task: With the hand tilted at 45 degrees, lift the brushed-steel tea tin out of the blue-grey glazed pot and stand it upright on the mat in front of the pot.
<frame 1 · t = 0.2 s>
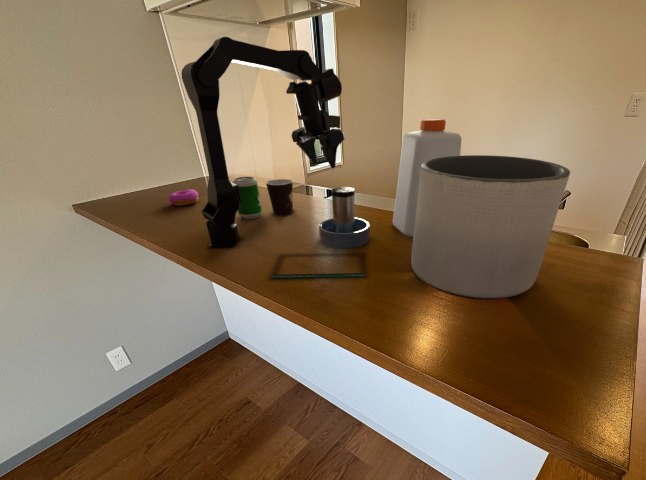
hand: (324, 165, 97), 15 cm above the table, tool pointing down, fingers open, 9 cm apart
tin: (344, 238, 86), point 1 cm above the table, touching pot
donut: (186, 204, 121), on the table
soda can: (251, 216, 106), on the table
mat: (320, 265, 74), on the table
planter: (468, 274, 70), on the table
plastic bottle: (421, 229, 93), on the table
pot: (344, 240, 87), on the table
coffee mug: (286, 211, 110), on the table
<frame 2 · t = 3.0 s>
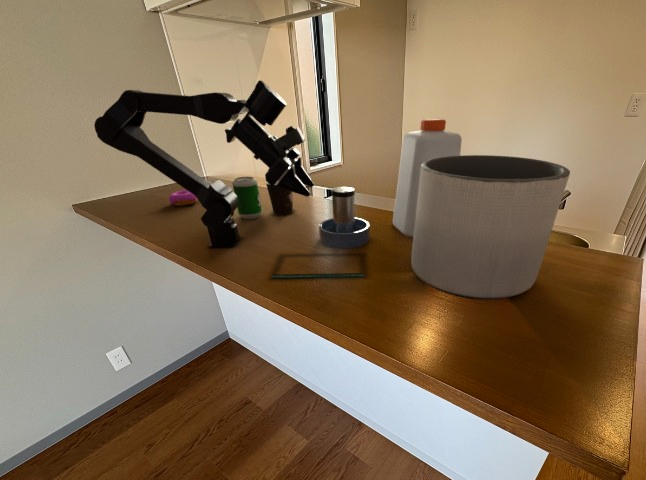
hand: (311, 190, 79), 13 cm above the table, tool tilted 45°, fingers open, 9 cm apart
nothing on the table moved.
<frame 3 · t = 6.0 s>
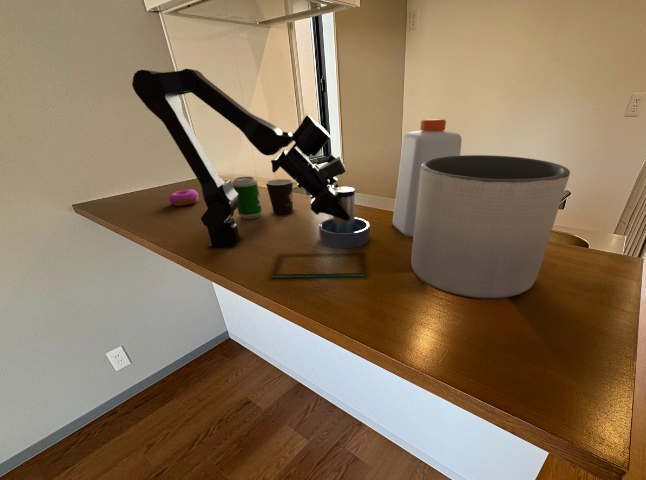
hand: (349, 215, 83), 7 cm above the table, tool tilted 45°, fingers closed on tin, 5 cm apart
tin: (344, 238, 86), point 1 cm above the table, touching gripper, pot
everything else where it was.
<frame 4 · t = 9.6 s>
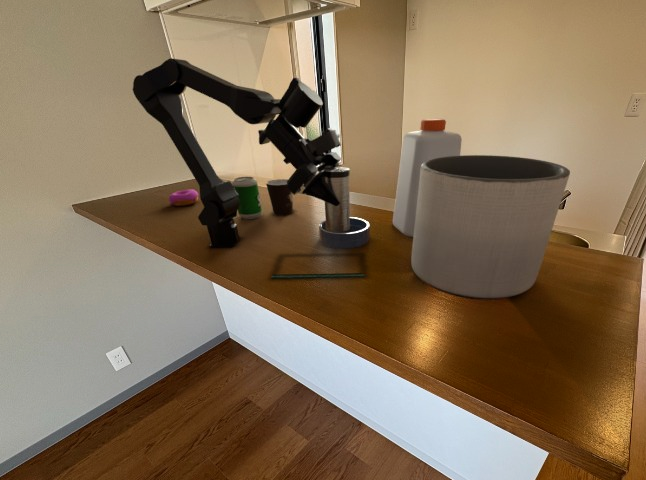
hand: (342, 201, 71), 13 cm above the table, tool tilted 45°, fingers closed on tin, 5 cm apart
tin: (338, 228, 75), point 7 cm above the table, touching gripper
everything else where it was.
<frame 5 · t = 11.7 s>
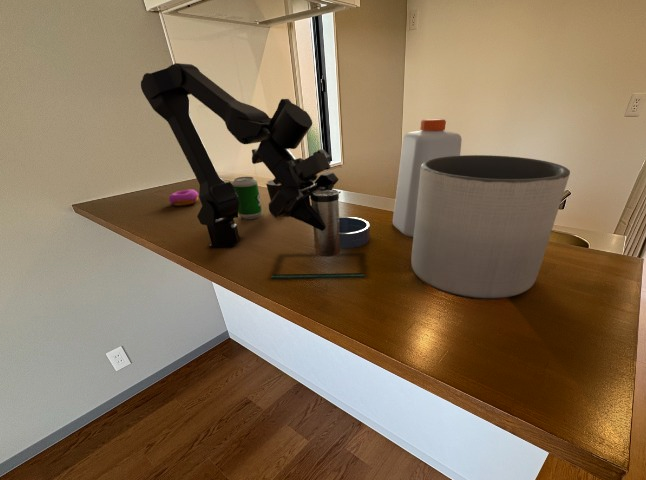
hand: (331, 225, 68), 10 cm above the table, tool tilted 45°, fingers closed on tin, 5 cm apart
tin: (327, 251, 72), point 4 cm above the table, touching gripper
everything else where it was.
when the fingers open (7 cm above the table, at t = 13.2 s): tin stays where it is, resting on mat.
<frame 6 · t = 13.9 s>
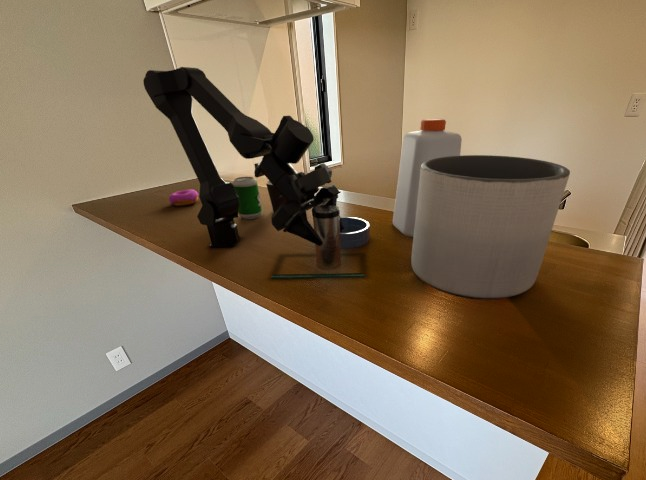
hand: (332, 237, 69), 7 cm above the table, tool tilted 45°, fingers open, 9 cm apart
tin: (328, 265, 73), resting on mat
everything else where it was.
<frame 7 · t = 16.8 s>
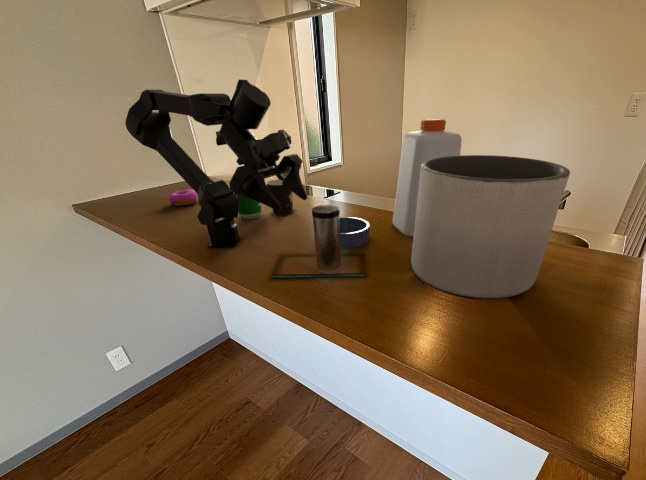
hand: (294, 204, 70), 13 cm above the table, tool tilted 45°, fingers open, 9 cm apart
nothing on the table moved.
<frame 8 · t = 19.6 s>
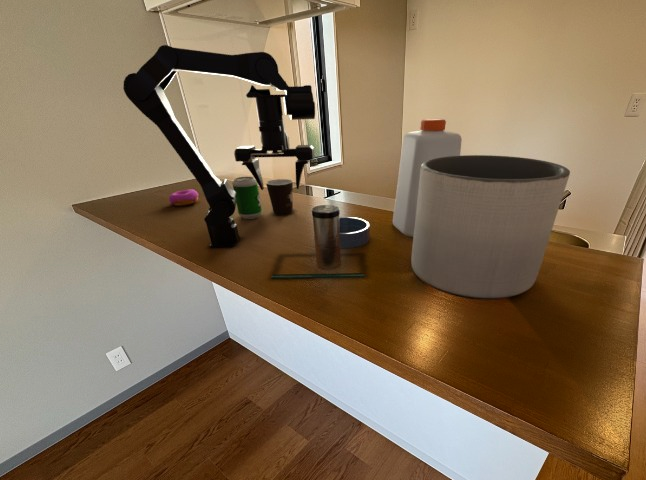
hand: (280, 189, 83), 13 cm above the table, tool pointing down, fingers open, 9 cm apart
nothing on the table moved.
at the end: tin inside the target area (0.1 cm from its centre), resting on mat; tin tilted 0°; the gripper is holding nothing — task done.
